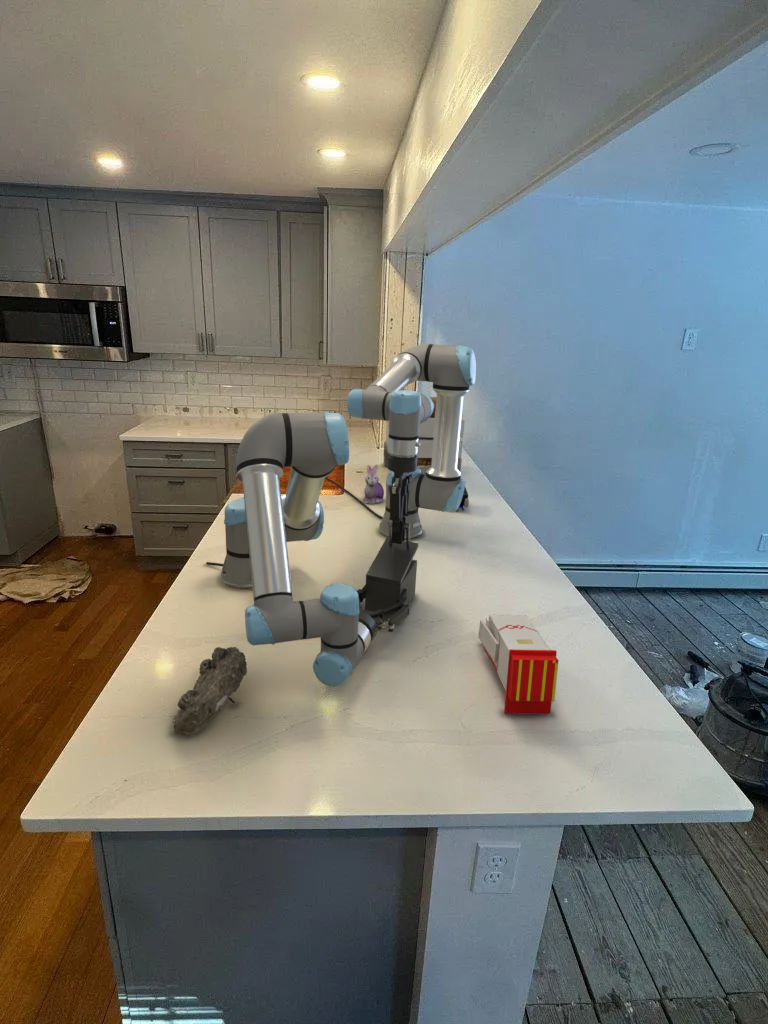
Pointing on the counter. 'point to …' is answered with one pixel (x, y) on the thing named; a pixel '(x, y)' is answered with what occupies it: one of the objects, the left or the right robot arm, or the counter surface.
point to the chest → (389, 590)
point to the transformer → (426, 441)
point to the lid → (393, 559)
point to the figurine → (373, 486)
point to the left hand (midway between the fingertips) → (386, 590)
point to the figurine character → (464, 500)
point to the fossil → (211, 689)
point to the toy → (521, 662)
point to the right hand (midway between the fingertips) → (398, 541)
